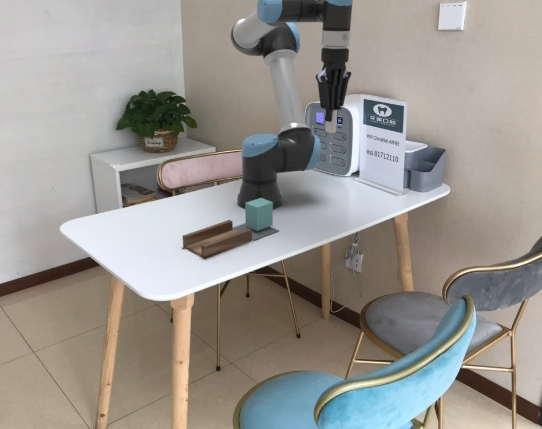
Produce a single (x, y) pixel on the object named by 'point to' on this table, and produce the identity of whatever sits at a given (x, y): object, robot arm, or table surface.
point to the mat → (256, 234)
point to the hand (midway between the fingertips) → (330, 132)
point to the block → (259, 214)
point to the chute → (215, 239)
